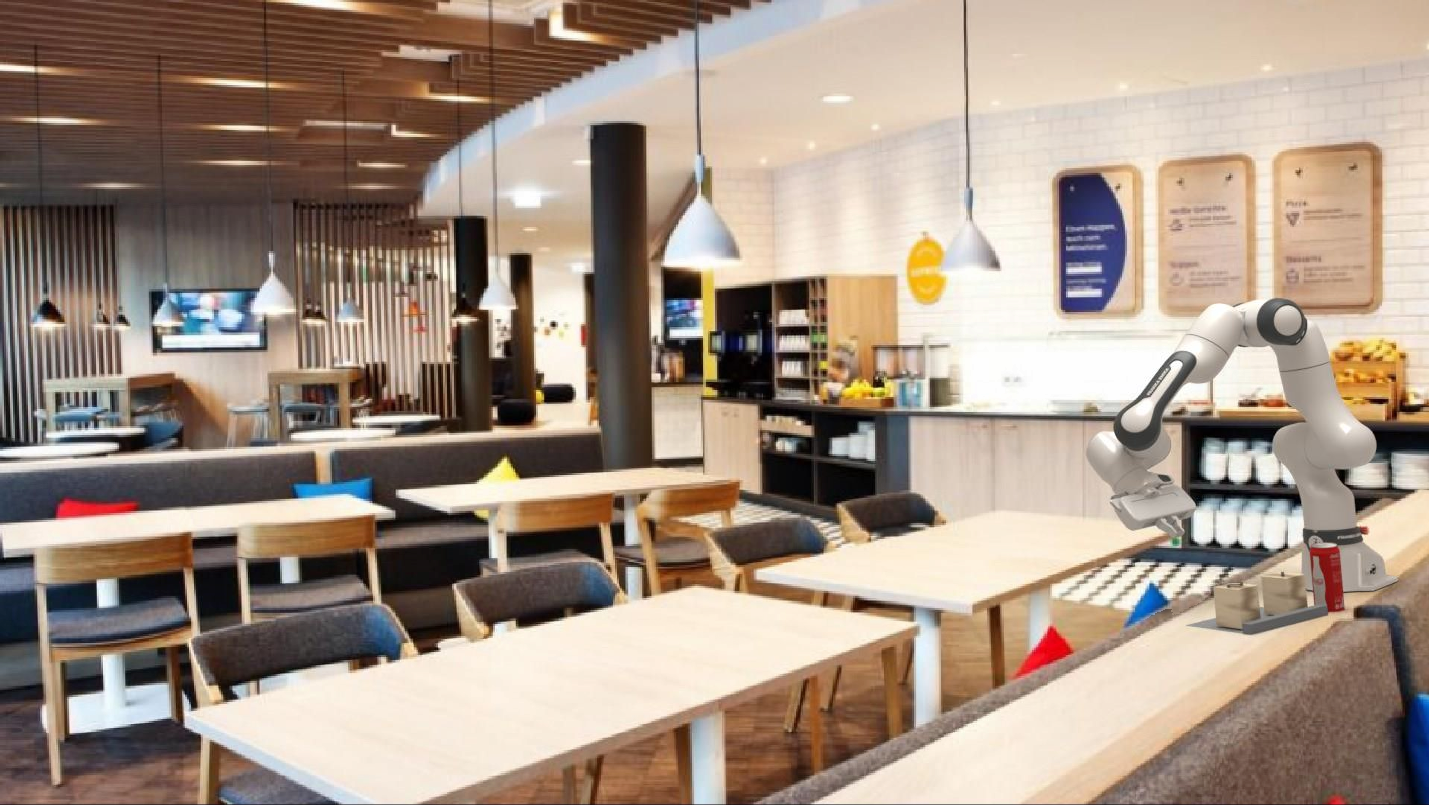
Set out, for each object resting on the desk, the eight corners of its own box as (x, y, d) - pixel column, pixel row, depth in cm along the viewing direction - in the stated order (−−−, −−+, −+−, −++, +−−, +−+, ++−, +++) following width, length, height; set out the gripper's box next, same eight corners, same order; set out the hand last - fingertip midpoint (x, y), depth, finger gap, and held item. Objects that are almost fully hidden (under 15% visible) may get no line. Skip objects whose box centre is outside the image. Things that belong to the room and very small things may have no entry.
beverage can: (1338, 610, 260) (1332, 540, 260) (1351, 616, 254) (1344, 544, 254) (1309, 612, 261) (1303, 543, 261) (1321, 618, 254) (1315, 546, 254)
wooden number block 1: (1282, 609, 260) (1279, 570, 260) (1308, 612, 255) (1304, 572, 255) (1264, 613, 258) (1260, 574, 258) (1289, 617, 252) (1286, 576, 252)
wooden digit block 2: (1236, 620, 253) (1232, 580, 253) (1261, 624, 248) (1257, 583, 248) (1216, 625, 250) (1212, 585, 250) (1241, 629, 245) (1237, 587, 245)
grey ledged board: (1261, 611, 266) (1259, 597, 266) (1328, 619, 252) (1327, 605, 252) (1186, 630, 255) (1184, 615, 255) (1252, 639, 241) (1250, 624, 241)
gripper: (1112, 487, 268) (1153, 533, 260) (1175, 474, 278) (1216, 518, 270) (1099, 506, 272) (1139, 552, 264) (1162, 493, 282) (1202, 537, 273)
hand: (1178, 535), depth 267 cm, fingers closed
